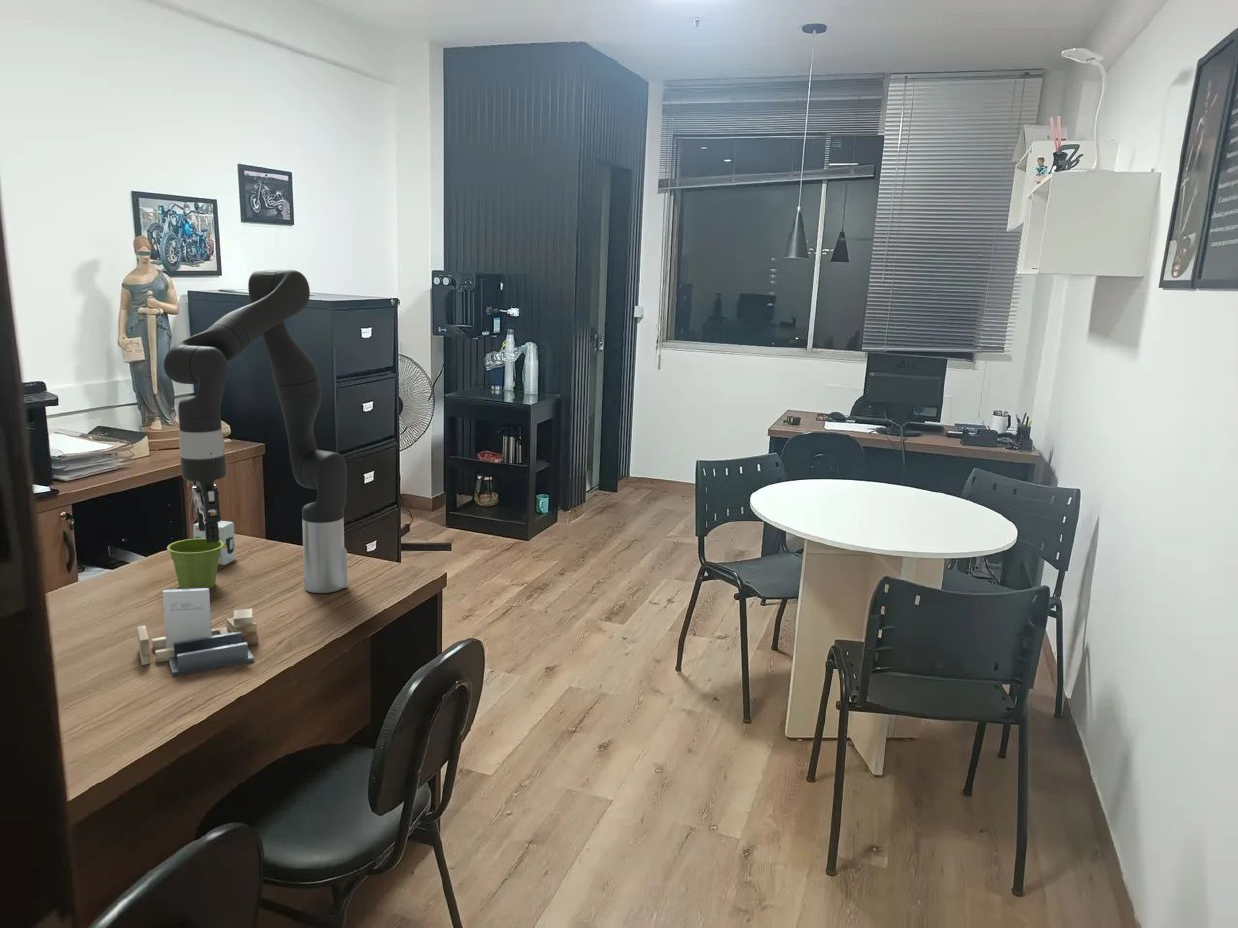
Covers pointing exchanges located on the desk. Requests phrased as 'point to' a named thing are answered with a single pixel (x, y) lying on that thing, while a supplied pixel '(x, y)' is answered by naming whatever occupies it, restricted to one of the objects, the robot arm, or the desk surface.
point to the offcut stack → (243, 626)
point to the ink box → (225, 536)
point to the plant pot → (195, 562)
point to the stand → (209, 653)
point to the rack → (161, 645)
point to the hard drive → (186, 614)
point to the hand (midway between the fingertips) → (208, 535)
